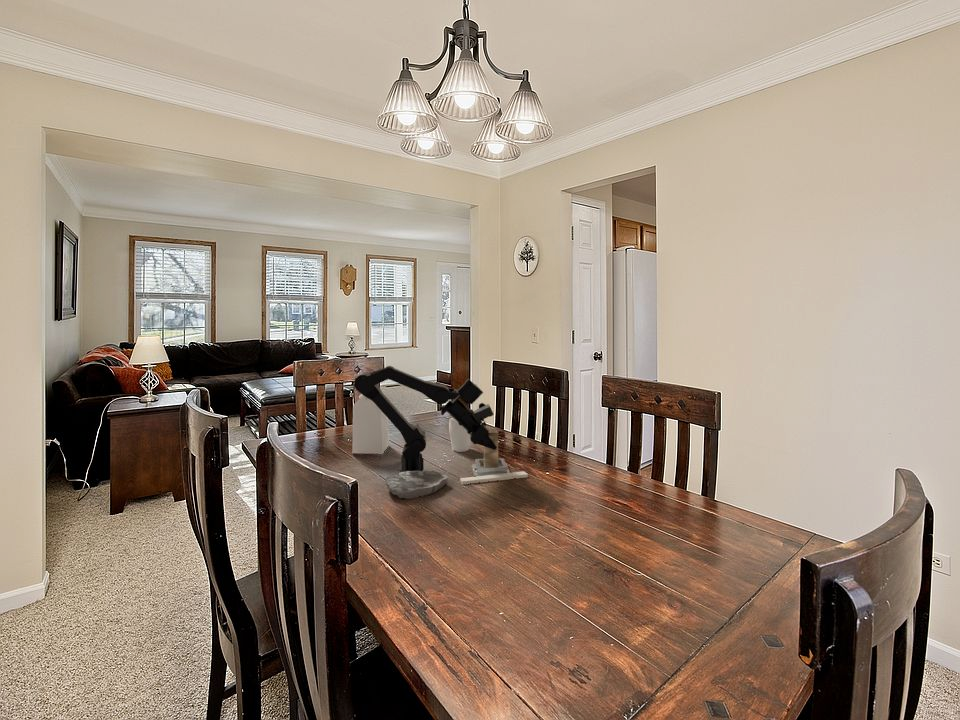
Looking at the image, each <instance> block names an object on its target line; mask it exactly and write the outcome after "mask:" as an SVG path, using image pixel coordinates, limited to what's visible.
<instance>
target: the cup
mask: <svg viewBox="0 0 960 720" xmlns="http://www.w3.org/2000/svg"><path fill="white" fill-rule="evenodd" d="M448 423H449V424H448V430H449V438H450V442H451V443H450V444H451V450H452V451H453V452H456V453H464V452H468V451H469V450H470V446H471V440H470V434H471V433H470V434H468V433H467V430H466V429H464V428H463V427H462V426H460V425H459V424H458V422H457V421H456V420H455V419H454V418H453V417H451V418H449V420H448Z"/></svg>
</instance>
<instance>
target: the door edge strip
mask: <svg viewBox="0 0 960 720" xmlns="http://www.w3.org/2000/svg"><path fill="white" fill-rule="evenodd" d="M528 475H529V474H528V473H527V472H526V471H514V472H510V473H504V474H494V475H485V476H476V477H474V476H470V477H469V476H468V477H461V478H459V482H460V484H462V485H468V484H470V483H471V484H477V483H478V484H480V483H489V482H495V481H496V482H497V480H498V481H507V480H513V479H514V478H516V479H522V478H523V479H525V478H528ZM488 481H489V482H488ZM479 482H480V483H479ZM471 484H470V485H471Z"/></svg>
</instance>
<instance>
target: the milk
mask: <svg viewBox="0 0 960 720" xmlns="http://www.w3.org/2000/svg"><path fill="white" fill-rule="evenodd" d="M388 420H389V419H388V418H387V417H386V416H385V414H384V413H383V412H382V411H381V410H380V409H379V408H378V407H377V405H376V404H375V403H374V402H373V401H372V400H370V399H368V398H367V397H365V396H364V395H362V394H361V393H360V394H359V396H358V400H357V401H355V402H354V404H353V407H352V444H351V445H352V447H351V448H352V449H351V450H352V451H351V452H352V453H375V454H376V453H379V454H383V453H384V451H385V450H386V449H387V447H388V446H389V447H390V437H389V435H390V434H389V423H388ZM389 447H388V448H389ZM387 450H388V449H387ZM387 450H386V451H387ZM386 451H385V452H386ZM352 453H351V454H352ZM384 454H385V453H384ZM384 454H383V455H384Z"/></svg>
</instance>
